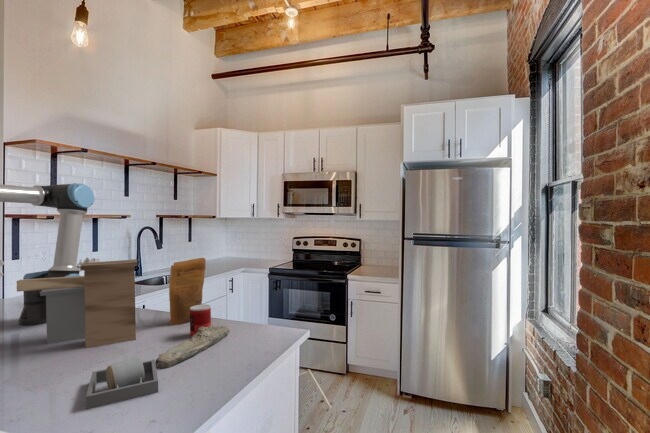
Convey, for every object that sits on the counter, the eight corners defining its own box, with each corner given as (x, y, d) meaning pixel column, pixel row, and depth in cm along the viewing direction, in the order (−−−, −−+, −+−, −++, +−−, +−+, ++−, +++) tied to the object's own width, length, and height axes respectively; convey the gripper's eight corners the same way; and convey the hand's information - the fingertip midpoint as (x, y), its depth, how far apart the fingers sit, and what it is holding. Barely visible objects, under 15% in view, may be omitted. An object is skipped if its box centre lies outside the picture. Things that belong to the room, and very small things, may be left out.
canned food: (215, 332, 140) (214, 305, 140) (201, 338, 133) (201, 310, 133) (199, 330, 143) (199, 303, 143) (185, 336, 136) (185, 308, 136)
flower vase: (82, 306, 186) (81, 260, 186) (71, 302, 197) (71, 258, 197) (109, 302, 196) (108, 258, 196) (97, 297, 207) (97, 256, 207)
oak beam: (23, 289, 135) (22, 276, 135) (110, 283, 144) (110, 271, 144) (14, 292, 129) (14, 279, 129) (106, 285, 138) (106, 273, 138)
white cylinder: (104, 388, 95) (104, 360, 95) (137, 377, 101) (136, 351, 101) (115, 402, 88) (114, 372, 87) (149, 390, 93) (149, 362, 93)
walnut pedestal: (85, 340, 134) (84, 262, 134) (138, 331, 142) (137, 259, 142) (82, 349, 124) (80, 266, 124) (138, 339, 133) (137, 262, 133)
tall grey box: (47, 337, 138) (46, 287, 138) (106, 328, 147) (105, 281, 147) (41, 345, 129) (40, 291, 129) (104, 335, 139) (103, 285, 139)
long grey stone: (146, 371, 109) (172, 376, 106) (146, 355, 108) (172, 360, 105) (214, 330, 142) (236, 333, 139) (214, 317, 142) (235, 320, 138)
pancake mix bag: (211, 317, 162) (209, 257, 162) (172, 328, 146) (171, 262, 146) (202, 314, 166) (201, 256, 166) (164, 325, 150) (163, 261, 150)
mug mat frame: (92, 382, 99) (92, 371, 99) (155, 369, 106) (154, 359, 106) (86, 409, 85) (85, 396, 85) (158, 391, 92) (158, 380, 92)
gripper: (-49, 222, 130) (-10, 266, 140) (-60, 238, 112) (-15, 288, 121) (-24, 212, 134) (12, 256, 144) (-32, 226, 116) (10, 276, 125)
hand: (0, 271), depth 132 cm, fingers open, 13 cm apart
